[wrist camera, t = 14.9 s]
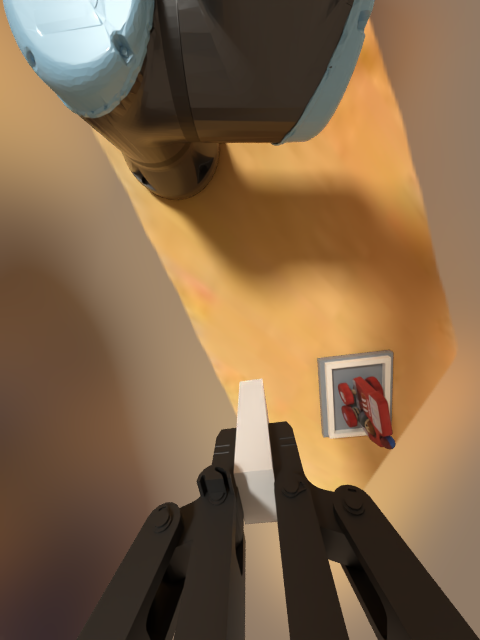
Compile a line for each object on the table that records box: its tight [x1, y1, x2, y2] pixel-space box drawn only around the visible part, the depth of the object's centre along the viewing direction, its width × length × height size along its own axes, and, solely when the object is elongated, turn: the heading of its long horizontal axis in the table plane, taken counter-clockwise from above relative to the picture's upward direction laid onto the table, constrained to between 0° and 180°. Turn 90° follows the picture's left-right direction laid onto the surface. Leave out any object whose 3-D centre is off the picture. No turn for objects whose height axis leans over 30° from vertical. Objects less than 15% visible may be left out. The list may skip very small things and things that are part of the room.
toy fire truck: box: [338, 376, 395, 449], centre depth 40 cm, size 7×12×10 cm, turn 15°
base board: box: [317, 350, 393, 439], centre depth 46 cm, size 18×14×2 cm
